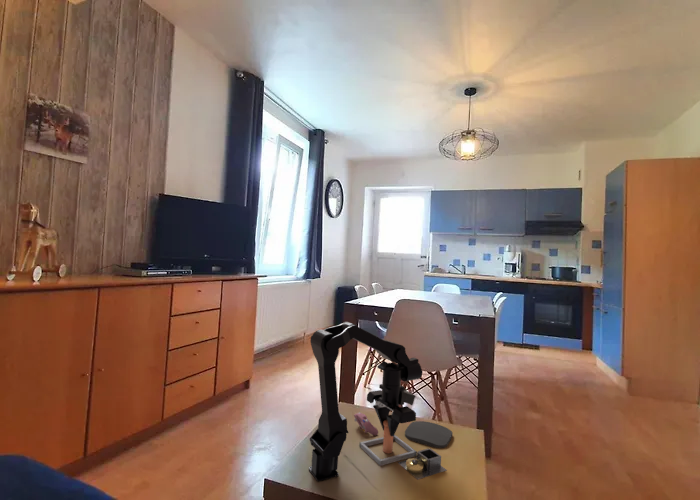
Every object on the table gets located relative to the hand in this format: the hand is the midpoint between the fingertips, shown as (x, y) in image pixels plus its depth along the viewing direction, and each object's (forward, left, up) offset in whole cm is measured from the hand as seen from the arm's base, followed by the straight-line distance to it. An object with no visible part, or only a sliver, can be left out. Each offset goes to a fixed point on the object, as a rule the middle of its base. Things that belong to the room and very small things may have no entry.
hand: (388, 433), depth 114 cm
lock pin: (0, 0, -6) cm, 6 cm away
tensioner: (+5, -11, -6) cm, 14 cm away
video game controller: (+2, +16, -7) cm, 18 cm away
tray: (0, 0, -6) cm, 7 cm away
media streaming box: (+20, +3, -7) cm, 21 cm away
